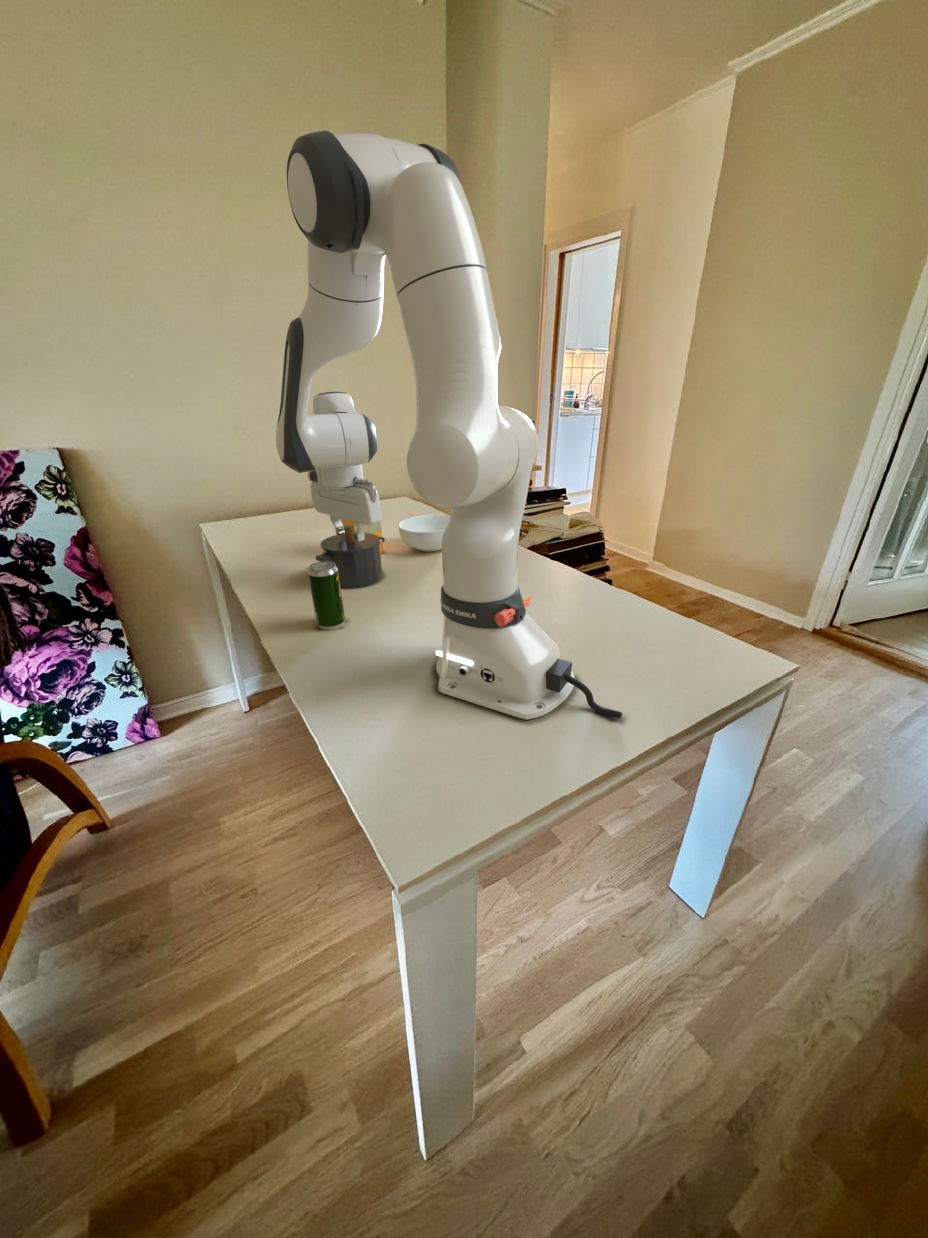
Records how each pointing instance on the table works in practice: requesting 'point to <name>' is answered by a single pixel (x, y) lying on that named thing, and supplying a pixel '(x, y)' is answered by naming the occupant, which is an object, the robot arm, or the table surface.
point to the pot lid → (350, 542)
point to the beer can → (326, 595)
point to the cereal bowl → (424, 531)
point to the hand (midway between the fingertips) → (350, 537)
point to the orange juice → (367, 529)
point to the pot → (356, 566)
